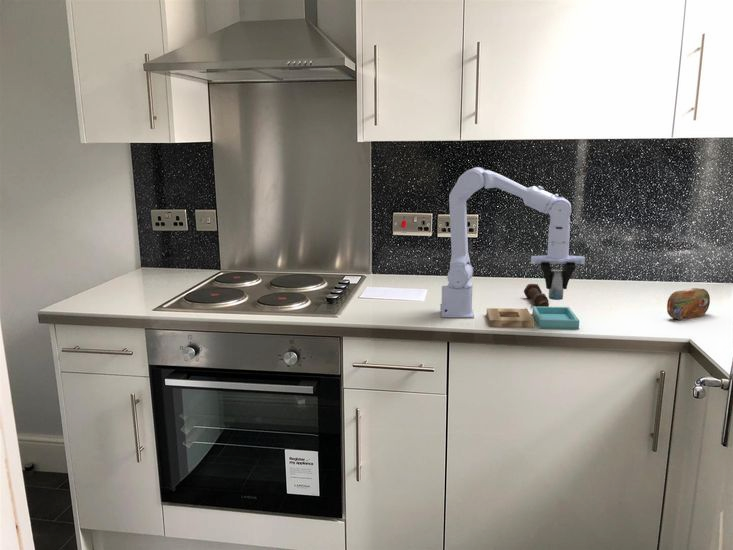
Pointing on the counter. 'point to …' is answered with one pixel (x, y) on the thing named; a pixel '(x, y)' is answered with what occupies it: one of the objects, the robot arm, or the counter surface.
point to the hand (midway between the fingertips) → (556, 288)
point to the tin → (688, 303)
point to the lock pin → (556, 284)
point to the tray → (555, 318)
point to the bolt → (536, 295)
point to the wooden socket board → (509, 317)
